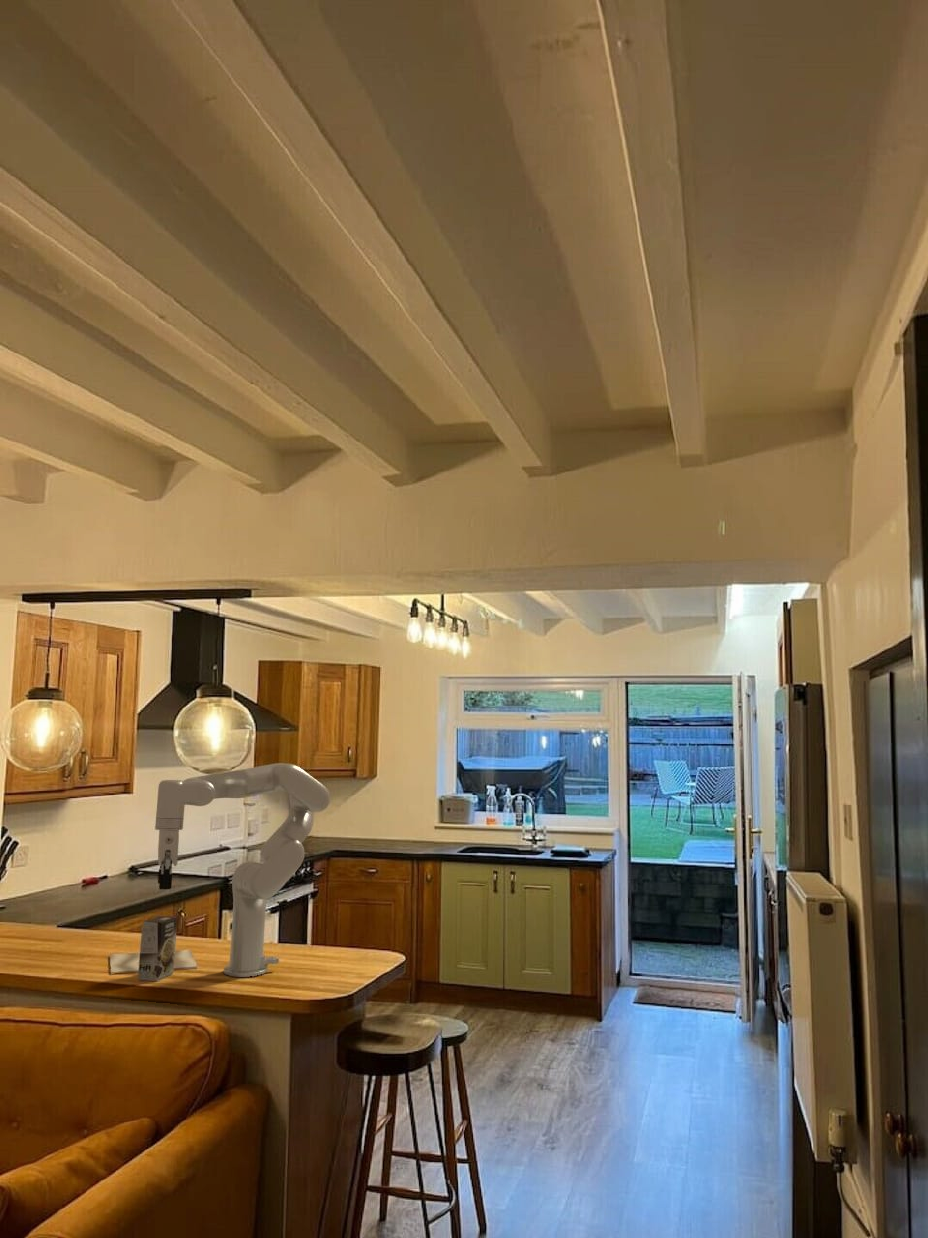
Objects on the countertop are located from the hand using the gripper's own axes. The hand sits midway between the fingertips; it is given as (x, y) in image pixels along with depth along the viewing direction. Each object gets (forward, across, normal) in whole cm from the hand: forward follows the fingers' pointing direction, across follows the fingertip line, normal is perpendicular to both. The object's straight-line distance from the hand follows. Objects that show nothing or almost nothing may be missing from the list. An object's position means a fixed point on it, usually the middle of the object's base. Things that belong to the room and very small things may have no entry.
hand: (164, 886), depth 245 cm
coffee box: (+27, +9, 0) cm, 28 cm away
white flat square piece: (+27, +26, 0) cm, 37 cm away
